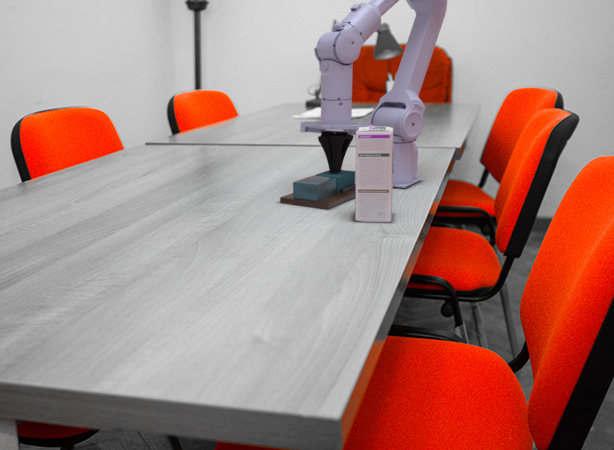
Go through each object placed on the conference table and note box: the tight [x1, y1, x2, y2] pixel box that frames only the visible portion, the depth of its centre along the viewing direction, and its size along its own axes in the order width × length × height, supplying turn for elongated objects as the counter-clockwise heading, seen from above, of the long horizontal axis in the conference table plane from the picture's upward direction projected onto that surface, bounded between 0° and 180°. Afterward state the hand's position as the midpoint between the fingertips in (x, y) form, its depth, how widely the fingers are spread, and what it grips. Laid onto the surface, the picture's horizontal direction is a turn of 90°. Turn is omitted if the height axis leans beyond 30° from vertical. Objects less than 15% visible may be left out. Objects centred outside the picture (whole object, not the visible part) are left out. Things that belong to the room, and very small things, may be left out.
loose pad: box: [314, 169, 356, 193], centre depth 110 cm, size 7×5×3 cm
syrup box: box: [354, 126, 394, 223], centre depth 91 cm, size 6×6×14 cm
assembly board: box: [279, 175, 356, 210], centre depth 107 cm, size 16×10×4 cm, turn 145°
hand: (335, 171), depth 109 cm, fingers closed
